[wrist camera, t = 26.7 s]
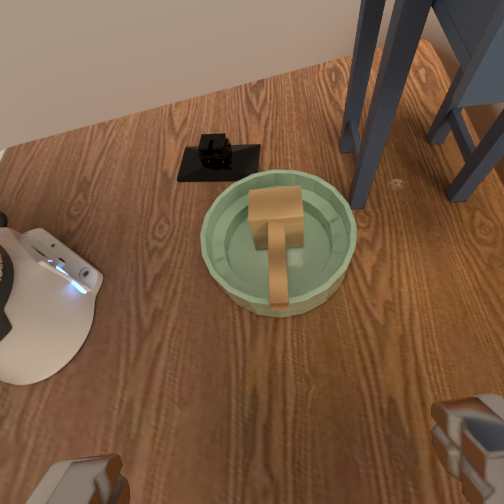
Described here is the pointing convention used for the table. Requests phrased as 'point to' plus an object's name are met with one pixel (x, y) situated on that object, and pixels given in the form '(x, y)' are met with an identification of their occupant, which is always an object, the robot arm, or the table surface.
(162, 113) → the table surface
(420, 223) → the table surface
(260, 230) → the mallet
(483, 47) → the nightstand
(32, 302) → the robot arm
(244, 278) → the bowl
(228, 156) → the black slotted stand
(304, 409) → the table surface
